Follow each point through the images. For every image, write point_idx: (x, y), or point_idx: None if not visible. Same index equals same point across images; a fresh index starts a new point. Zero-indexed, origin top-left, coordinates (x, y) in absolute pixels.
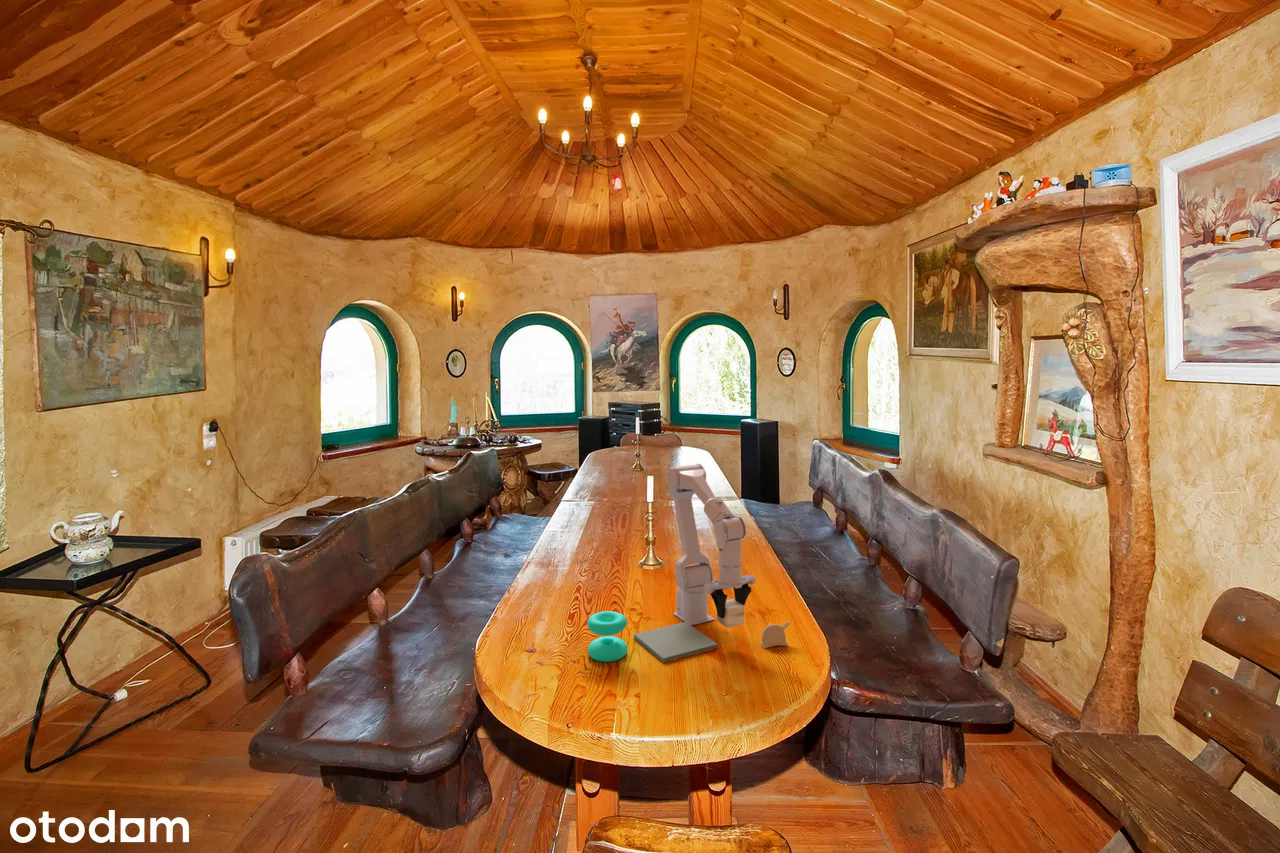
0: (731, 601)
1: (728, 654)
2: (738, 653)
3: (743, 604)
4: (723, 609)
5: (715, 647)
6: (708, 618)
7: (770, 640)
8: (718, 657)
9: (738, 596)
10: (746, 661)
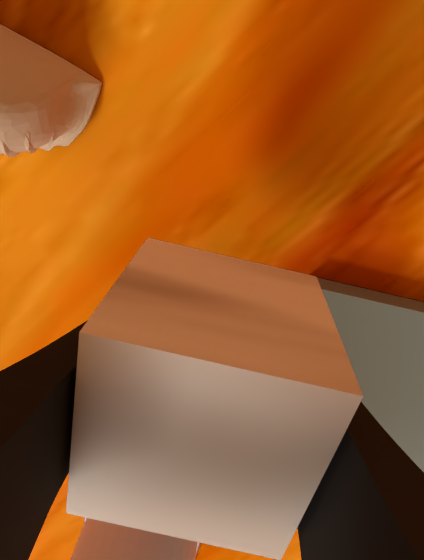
0: (126, 487)
1: (326, 185)
2: (273, 152)
3: (49, 361)
4: (368, 430)
5: (323, 282)
6: None
7: (32, 57)
8: (399, 199)
9: (24, 505)
10: (330, 28)
